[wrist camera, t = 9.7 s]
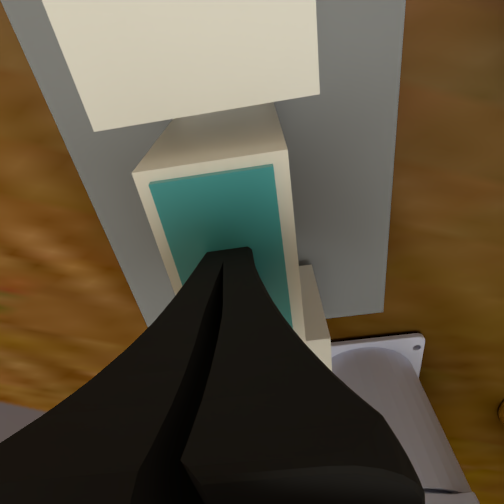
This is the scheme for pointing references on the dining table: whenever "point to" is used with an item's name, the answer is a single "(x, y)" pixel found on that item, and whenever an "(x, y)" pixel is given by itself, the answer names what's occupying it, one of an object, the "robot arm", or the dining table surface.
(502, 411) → the beer glass
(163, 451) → the robot arm
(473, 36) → the dining table surface
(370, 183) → the board
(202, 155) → the block
